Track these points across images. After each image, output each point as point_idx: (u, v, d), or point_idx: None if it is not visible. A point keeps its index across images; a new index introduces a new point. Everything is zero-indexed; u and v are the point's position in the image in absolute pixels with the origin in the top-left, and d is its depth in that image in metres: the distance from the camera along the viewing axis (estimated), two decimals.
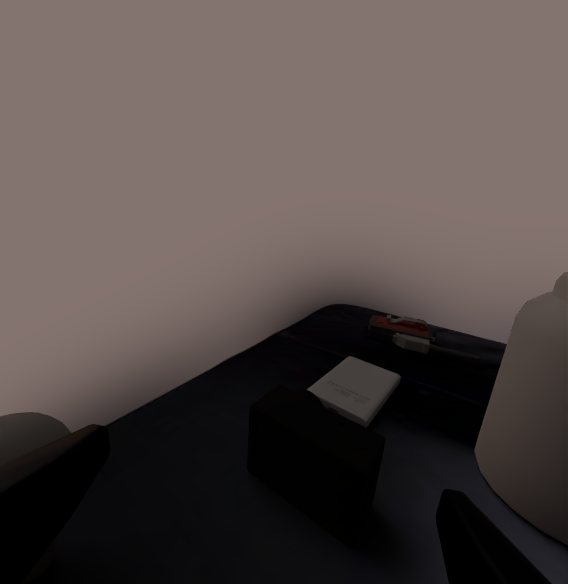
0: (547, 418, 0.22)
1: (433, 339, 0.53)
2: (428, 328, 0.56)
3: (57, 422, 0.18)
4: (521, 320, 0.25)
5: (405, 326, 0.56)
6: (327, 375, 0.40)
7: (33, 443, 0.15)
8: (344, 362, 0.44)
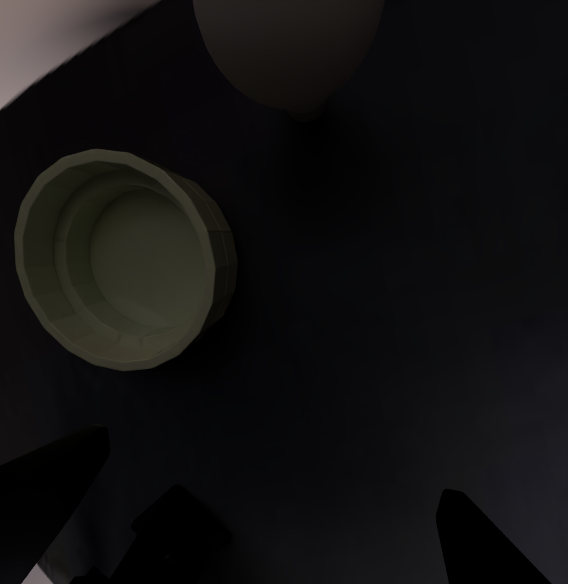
0: None
1: None
2: None
3: None
4: None
5: None
6: None
7: None
8: None
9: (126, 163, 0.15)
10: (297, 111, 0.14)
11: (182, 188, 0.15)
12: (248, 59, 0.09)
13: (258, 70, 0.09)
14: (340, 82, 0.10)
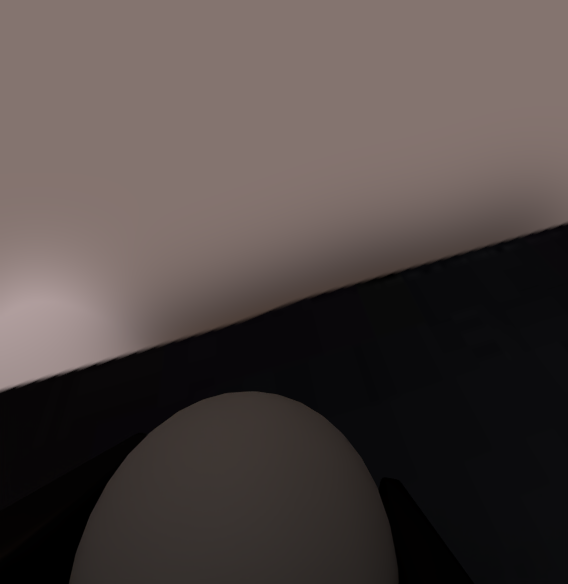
0: None
1: None
2: None
3: (374, 550, 0.05)
4: None
5: None
6: None
7: None
8: None
9: None
10: None
11: None
12: None
13: None
14: None
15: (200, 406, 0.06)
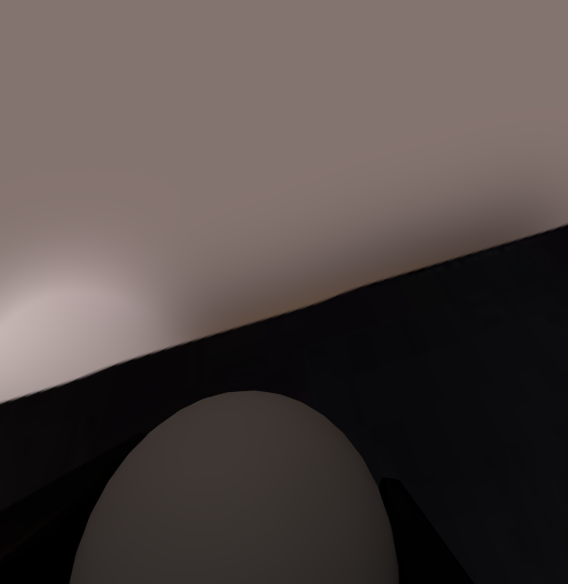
0: None
1: None
2: None
3: (374, 549, 0.05)
4: None
5: None
6: None
7: None
8: None
9: None
10: None
11: None
12: None
13: None
14: None
15: (200, 406, 0.06)
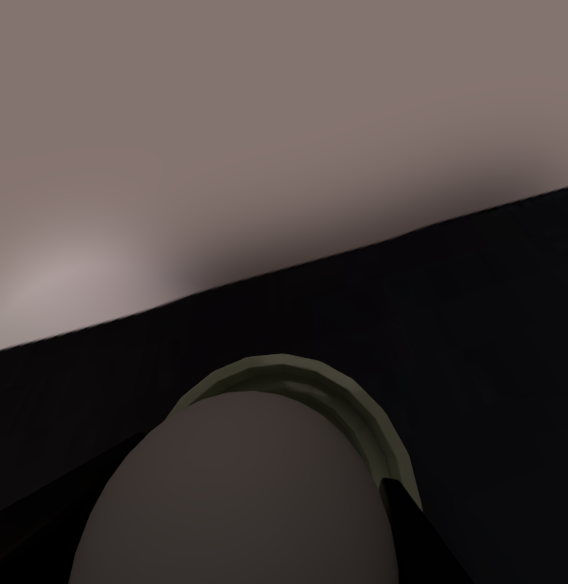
0: None
1: None
2: None
3: (374, 549, 0.05)
4: None
5: None
6: None
7: None
8: None
9: (316, 370, 0.15)
10: None
11: None
12: None
13: None
14: None
15: (199, 406, 0.06)
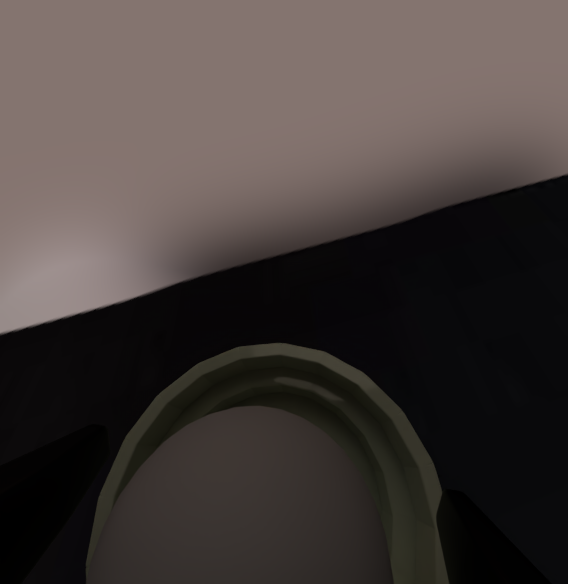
0: None
1: None
2: None
3: (370, 563, 0.05)
4: None
5: None
6: None
7: None
8: None
9: (320, 362, 0.13)
10: None
11: None
12: None
13: None
14: None
15: (207, 422, 0.06)
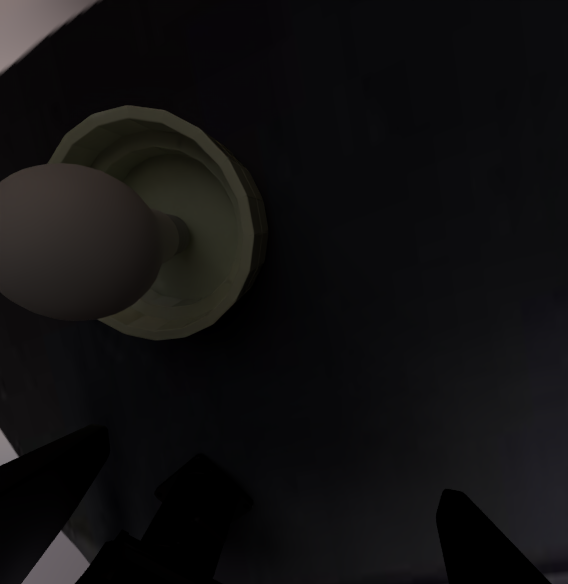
0: None
1: None
2: None
3: (97, 236, 0.10)
4: None
5: None
6: None
7: (70, 293, 0.10)
8: None
9: (161, 121, 0.14)
10: None
11: (220, 149, 0.14)
12: None
13: None
14: (131, 305, 0.12)
15: (9, 176, 0.10)
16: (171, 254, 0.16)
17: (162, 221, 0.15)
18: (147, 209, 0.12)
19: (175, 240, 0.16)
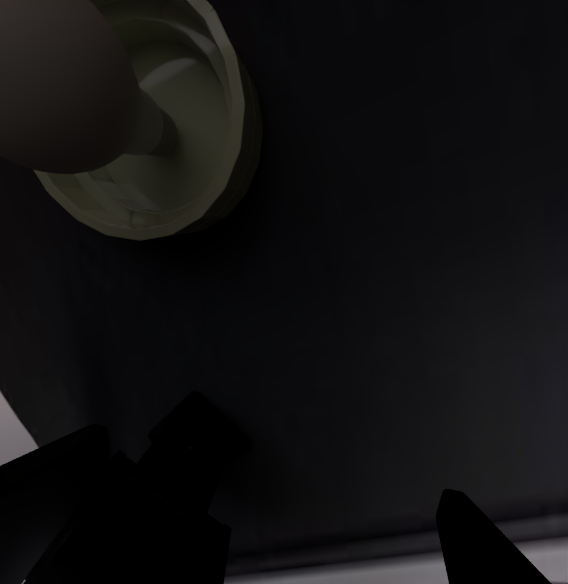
0: None
1: None
2: None
3: (49, 24, 0.08)
4: None
5: None
6: None
7: (19, 97, 0.08)
8: None
9: None
10: (130, 154, 0.15)
11: None
12: None
13: (5, 156, 0.10)
14: (103, 157, 0.11)
15: None
16: (154, 138, 0.15)
17: (142, 90, 0.13)
18: (117, 37, 0.10)
19: (158, 121, 0.15)
